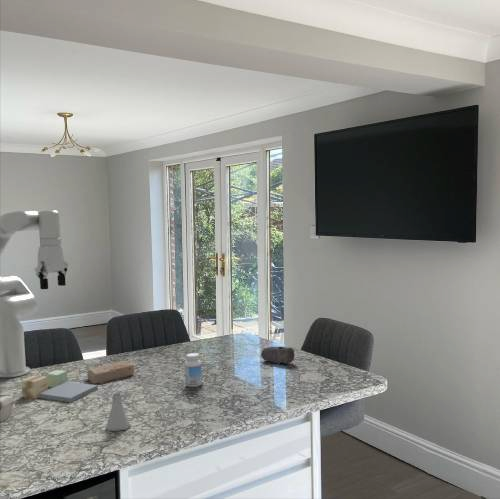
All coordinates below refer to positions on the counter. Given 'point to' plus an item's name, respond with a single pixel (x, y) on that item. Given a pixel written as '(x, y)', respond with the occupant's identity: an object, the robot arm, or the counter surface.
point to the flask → (117, 415)
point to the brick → (110, 372)
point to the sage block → (56, 378)
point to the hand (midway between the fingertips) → (53, 287)
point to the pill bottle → (193, 370)
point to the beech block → (34, 386)
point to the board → (68, 391)
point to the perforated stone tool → (278, 355)
